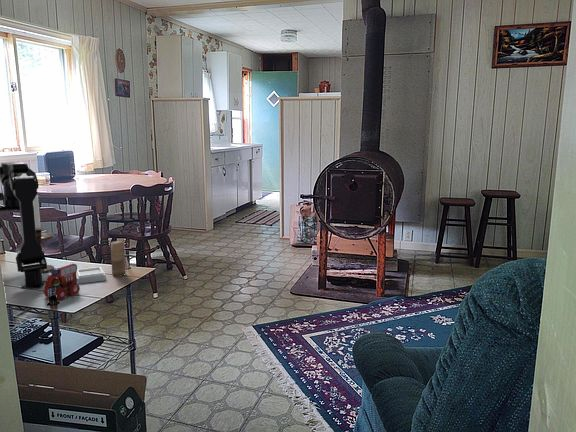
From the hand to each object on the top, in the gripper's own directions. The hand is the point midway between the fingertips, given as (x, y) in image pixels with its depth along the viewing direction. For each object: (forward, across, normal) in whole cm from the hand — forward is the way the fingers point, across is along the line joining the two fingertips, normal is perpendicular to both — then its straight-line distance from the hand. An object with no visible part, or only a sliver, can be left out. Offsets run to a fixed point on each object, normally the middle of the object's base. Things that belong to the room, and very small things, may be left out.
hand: (13, 227), depth 193 cm
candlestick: (+11, -6, +20) cm, 23 cm away
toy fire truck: (+2, -5, +53) cm, 53 cm away
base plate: (+5, -19, +40) cm, 44 cm away
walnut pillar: (+5, -29, +42) cm, 51 cm away
